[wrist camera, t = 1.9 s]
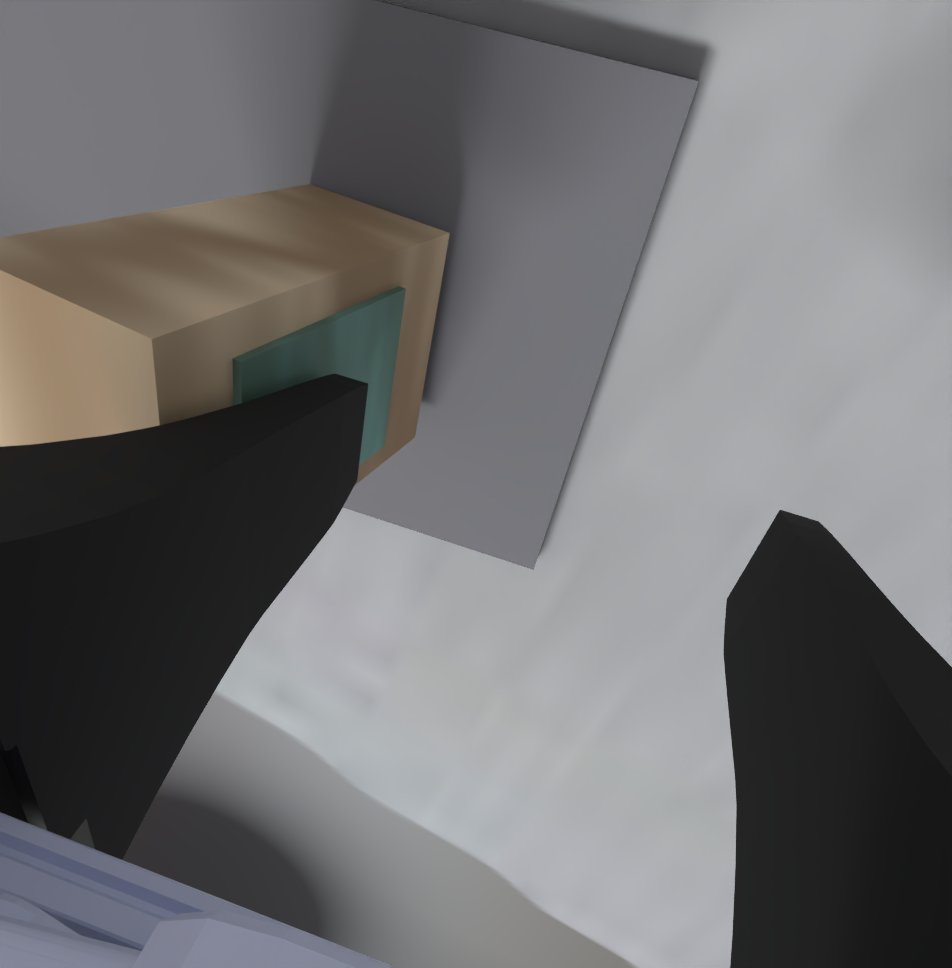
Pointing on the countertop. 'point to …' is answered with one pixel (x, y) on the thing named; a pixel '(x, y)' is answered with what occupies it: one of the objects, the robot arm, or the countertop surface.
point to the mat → (377, 196)
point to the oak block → (216, 315)
